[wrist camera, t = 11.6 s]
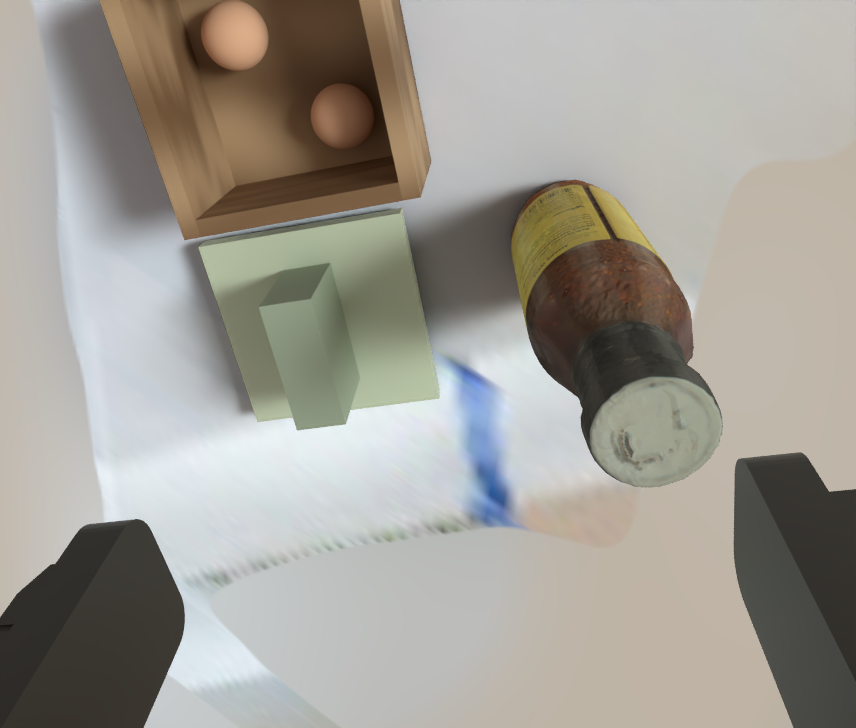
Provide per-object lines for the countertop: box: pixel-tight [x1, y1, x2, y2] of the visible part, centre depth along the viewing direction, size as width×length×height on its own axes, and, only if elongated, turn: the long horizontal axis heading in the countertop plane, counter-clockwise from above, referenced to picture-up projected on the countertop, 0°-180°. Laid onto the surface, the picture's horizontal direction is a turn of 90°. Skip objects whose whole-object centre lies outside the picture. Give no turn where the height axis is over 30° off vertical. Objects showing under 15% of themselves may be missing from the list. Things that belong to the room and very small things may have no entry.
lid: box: [198, 208, 440, 430], centre depth 40 cm, size 11×11×7 cm
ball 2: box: [311, 83, 374, 150], centre depth 36 cm, size 3×3×3 cm
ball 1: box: [201, 0, 269, 71], centre depth 35 cm, size 3×3×3 cm
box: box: [99, 0, 431, 240], centre depth 34 cm, size 11×11×7 cm
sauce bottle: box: [511, 180, 723, 487], centre depth 31 cm, size 6×6×20 cm
